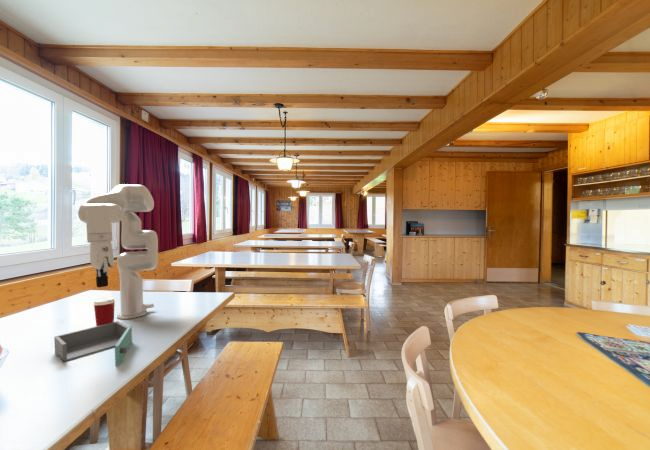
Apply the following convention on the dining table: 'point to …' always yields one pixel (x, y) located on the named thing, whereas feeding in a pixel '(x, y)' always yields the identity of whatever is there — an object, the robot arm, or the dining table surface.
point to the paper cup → (104, 311)
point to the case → (88, 341)
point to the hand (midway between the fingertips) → (102, 286)
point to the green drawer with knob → (123, 345)
